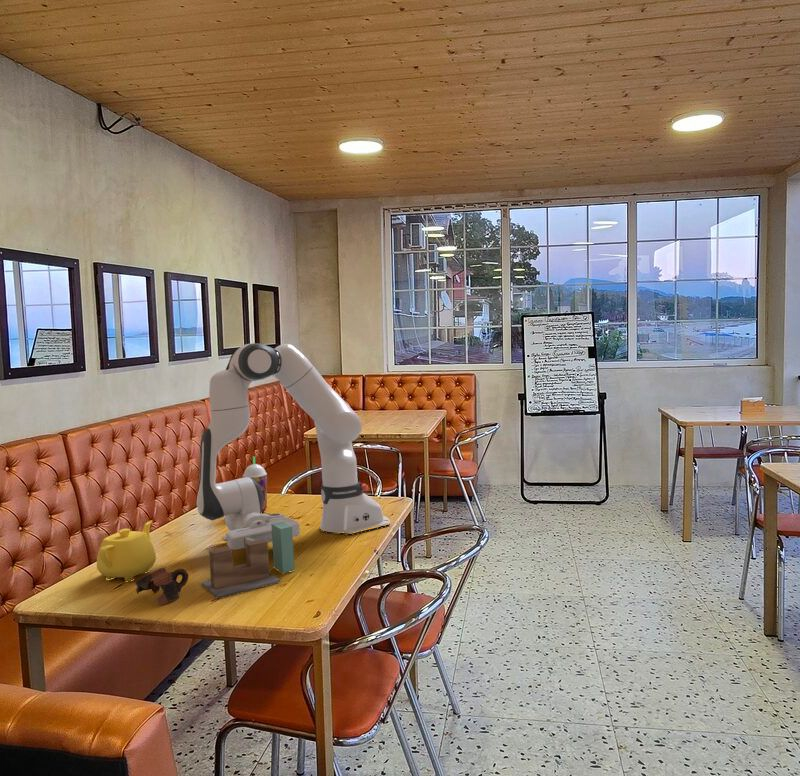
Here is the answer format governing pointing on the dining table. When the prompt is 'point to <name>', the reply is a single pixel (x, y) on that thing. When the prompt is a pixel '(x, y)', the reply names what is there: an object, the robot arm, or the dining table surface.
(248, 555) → the walnut slotted plate
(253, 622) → the dining table surface
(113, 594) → the dining table surface
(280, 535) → the teal green rectangular block
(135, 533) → the teapot
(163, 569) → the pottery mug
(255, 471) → the smoothie
